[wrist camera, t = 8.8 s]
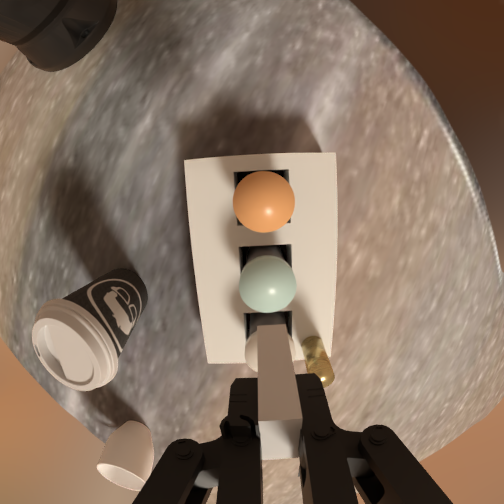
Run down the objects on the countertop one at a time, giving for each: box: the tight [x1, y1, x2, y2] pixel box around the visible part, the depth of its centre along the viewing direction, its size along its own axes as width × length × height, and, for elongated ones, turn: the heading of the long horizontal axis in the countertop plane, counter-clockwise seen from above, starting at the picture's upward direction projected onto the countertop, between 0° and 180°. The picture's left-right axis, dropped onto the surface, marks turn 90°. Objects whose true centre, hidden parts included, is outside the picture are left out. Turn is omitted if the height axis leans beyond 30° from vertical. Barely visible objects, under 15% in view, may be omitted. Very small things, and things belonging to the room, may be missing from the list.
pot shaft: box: [301, 336, 335, 388], centre depth 27 cm, size 2×2×6 cm
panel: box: [184, 153, 337, 363], centre depth 30 cm, size 22×14×5 cm, turn 3°
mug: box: [97, 421, 154, 491], centre depth 37 cm, size 12×9×12 cm
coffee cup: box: [32, 269, 148, 391], centre depth 27 cm, size 10×10×15 cm
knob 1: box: [233, 171, 295, 233], centre depth 26 cm, size 5×5×9 cm
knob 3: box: [245, 311, 296, 372], centre depth 30 cm, size 5×5×9 cm
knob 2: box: [239, 245, 297, 313], centre depth 28 cm, size 5×5×9 cm
